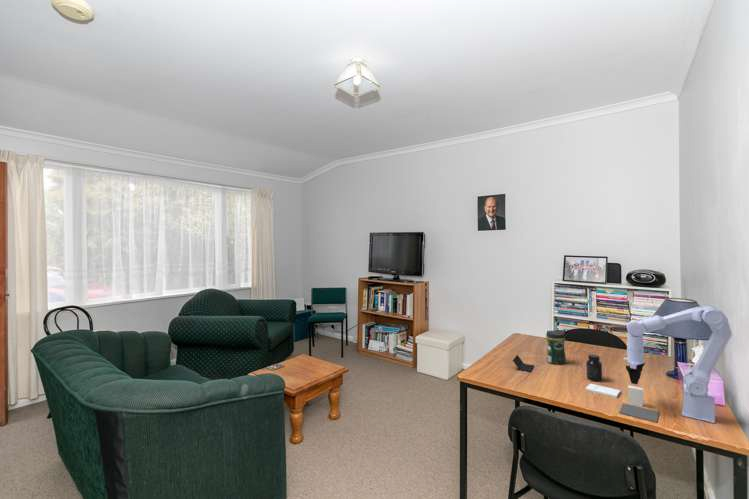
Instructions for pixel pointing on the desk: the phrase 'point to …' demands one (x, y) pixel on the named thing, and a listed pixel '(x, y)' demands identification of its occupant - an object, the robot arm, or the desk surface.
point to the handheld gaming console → (522, 365)
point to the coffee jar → (556, 347)
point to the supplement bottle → (594, 368)
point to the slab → (635, 395)
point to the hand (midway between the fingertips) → (635, 381)
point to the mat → (639, 412)
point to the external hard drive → (603, 390)
